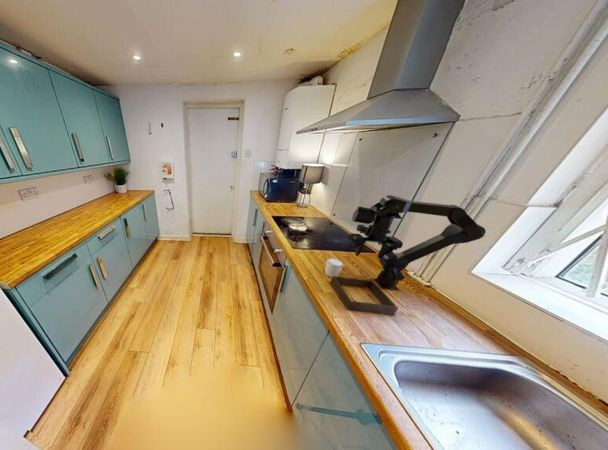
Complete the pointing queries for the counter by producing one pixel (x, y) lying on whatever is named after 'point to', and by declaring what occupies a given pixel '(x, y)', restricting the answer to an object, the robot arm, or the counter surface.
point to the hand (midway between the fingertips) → (367, 256)
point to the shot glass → (333, 267)
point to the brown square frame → (385, 308)
